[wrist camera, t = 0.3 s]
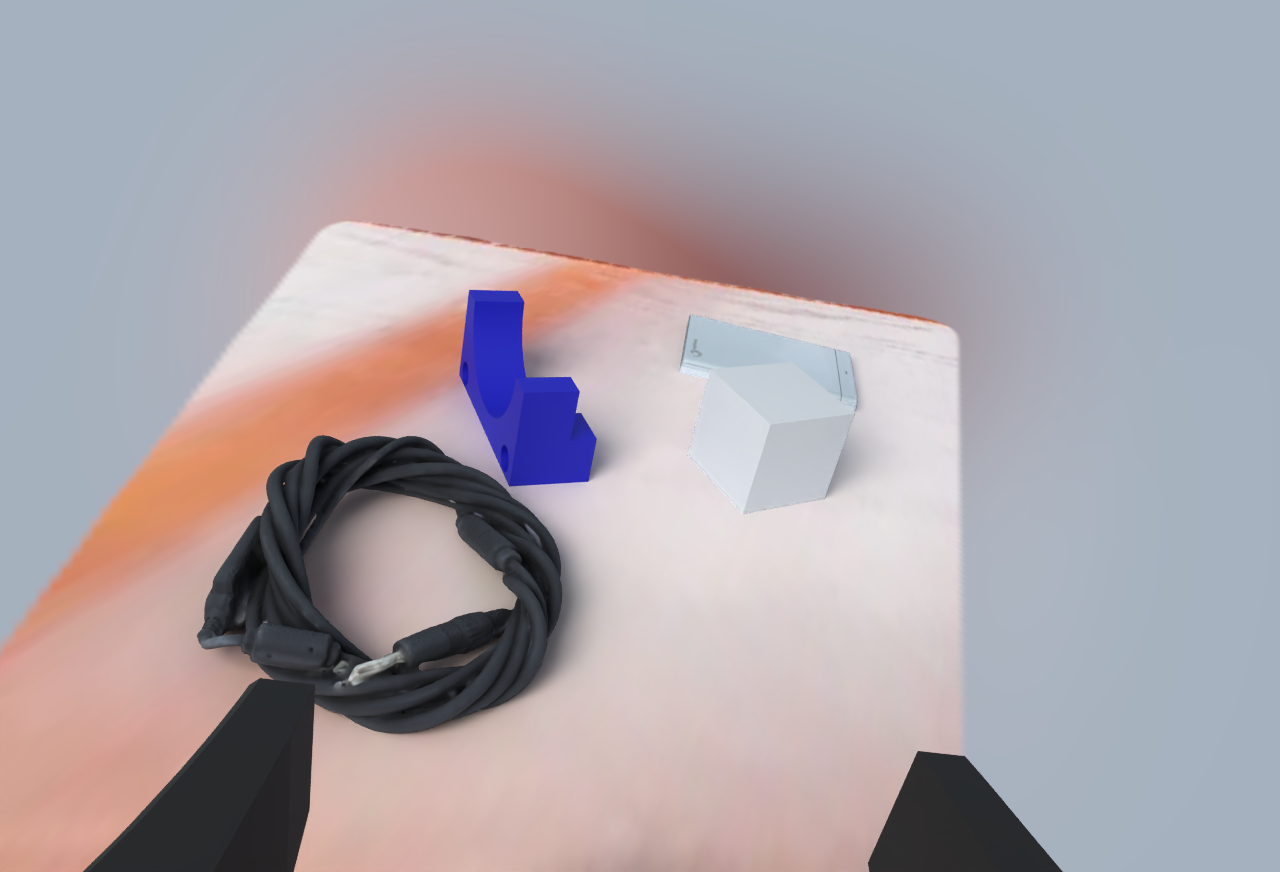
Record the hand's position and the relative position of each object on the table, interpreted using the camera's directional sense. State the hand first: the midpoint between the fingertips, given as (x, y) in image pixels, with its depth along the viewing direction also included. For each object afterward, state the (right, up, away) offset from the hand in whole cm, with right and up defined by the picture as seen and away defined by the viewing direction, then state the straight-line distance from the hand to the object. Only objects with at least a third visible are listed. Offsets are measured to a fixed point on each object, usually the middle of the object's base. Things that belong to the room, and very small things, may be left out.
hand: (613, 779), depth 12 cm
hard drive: (+9, +9, +60) cm, 61 cm away
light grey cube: (+7, +1, +47) cm, 47 cm away
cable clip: (-7, +4, +46) cm, 47 cm away
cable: (-10, -3, +33) cm, 35 cm away
